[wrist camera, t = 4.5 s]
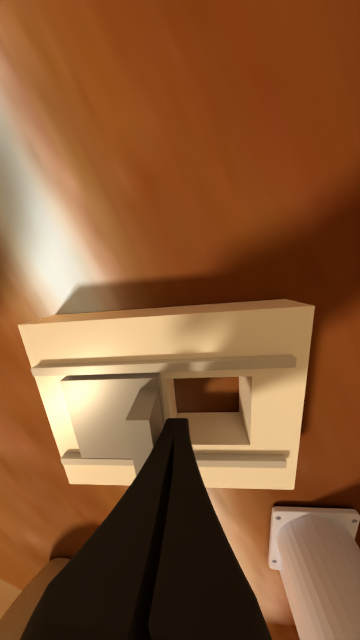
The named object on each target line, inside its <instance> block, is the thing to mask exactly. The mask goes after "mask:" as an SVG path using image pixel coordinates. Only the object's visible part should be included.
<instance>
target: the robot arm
mask: <svg viewBox="0 0 360 640" xmlns="http://www.w3.org/2000/svg"><path fill="white" fill-rule="evenodd" d="M359 521H360V515H359V513H358V512H357V511H356V510H355V509H339V508H311V507H283V506H275V507H273V508H272V516H271V530H270V543H269V557H268V563H269V567H270V568H271V569H275V570H280V574H281V577H282V581H283V584H284V587H285V591H286V594H287V597H288V601H289V604H290V607H291V611H292V614H293V618H294V621H295V624H296V628H297V631H298V634H299V638H300V640H360V548H359V547H358V545H357V543H356V542H355V537H356V533H357V529H358V525H359ZM20 640H272V638H271V636H270V633H269V630H268V628H267V625H266V622H265V620H264V617H263V615H262V612H261V610H260V607H259V604H258V601H257V599H256V596H255V594H254V592H253V590H252V588H251V587H250V585H249V583H248V581H247V579H246V577H245V575H244V573H243V571H242V569H241V567H240V565H239V563H238V561H237V559H236V557H235V555H234V552H233V550H232V548H231V546H230V544H229V542H228V540H227V538H226V535H225V533H224V531H223V529H222V526H221V524H220V522H219V520H218V517H217V515H216V513H215V511H214V508H213V506H212V503H211V501H210V498H209V496H208V493H207V491H206V488H205V485H204V483H203V480H202V477H201V474H200V471H199V468H198V465H197V462H196V458H195V455H194V451H193V447H192V443H191V439H190V433H189V421H188V419H187V418H168V419H167V420H166V422H165V424H164V427H163V429H162V431H161V433H160V435H159V437H158V439H157V441H156V443H155V445H154V447H153V449H152V451H151V453H150V454H149V456H148V458H147V460H146V461H145V463H144V465H143V466H142V468H141V470H140V471H139V473H138V474H137V476H136V477H135V479H134V481H133V482H132V483H131V485H130V486H129V488H128V489H127V491H126V492H125V494H124V495H123V496H122V498H121V499H120V500H119V502H118V503H117V504H116V506H115V507H114V509H113V510H112V511H111V512H110V514H109V515H108V516H107V518H106V519H105V520H104V521H103V522H102V524H101V525H100V526H99V527H98V528H97V530H96V531H95V532H94V533H93V535H92V536H91V537H90V538H89V539H88V541H87V542H86V543H85V544H84V545H83V546H82V548H81V549H80V550H79V551H78V552H77V553H76V554H75V555H74V556H73V557H72V559H71V560H70V561H69V562H68V563H67V564H66V565H65V566H64V567H63V568H62V570H61V571H60V572H59V573H58V574H57V575H56V576H55V577H54V578H53V579H52V580H51V582H50V583H49V584H48V585H47V587H46V589H45V591H44V593H43V595H42V596H41V598H40V600H39V602H38V604H37V606H36V607H35V609H34V611H33V613H32V615H31V617H30V619H29V621H28V623H27V625H26V627H25V629H24V631H23V634H22V636H21V638H20Z"/></svg>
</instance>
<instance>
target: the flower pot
mask: <svg viewBox="0 0 360 640" xmlns="http://www.w3.org/2000/svg"><path fill="white" fill-rule="evenodd" d="M70 560H71V559H68V558H55V559H52V560H51V561H50V562H49V563H48V564H47V565H46V566H45V567H44V568H43V569H42V570H41V571H40V572H39V573H38V574H37V575H36V576H35V577H34V578H33V579H32V580H31V582H30V583H29V584H28V585H27V586H26V587H25V589H24V590H23V591H22V592H21V593H20V595H19V596H18V597H17V598H16V600H15V601H14V602H13V603H12V605H11V606H10V607H9V609H8V610H7V611H6V613H5V614H4V615H3V617H2V618H1V619H0V640H20V638H21V636H22V634H23V631H24V629H25V627H26V625H27V623H28V621H29V619H30V617H31V615H32V613H33V611H34V609H35V607H36V606H37V604H38V602H39V600H40V598H41V596H42V595H43V593H44V591H45V589H46V587H47V585H48V584H49V583H50V582H51V580H52V579H53V578H54V577H55V576H56V575H57V574H58V573H59V572H60V571H61V570H62V568H63V567H64V566H65V565H66V564H67V563H68V562H69V561H70Z"/></svg>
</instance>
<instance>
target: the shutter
mask: <svg viewBox="0 0 360 640" xmlns="http://www.w3.org/2000/svg"><path fill="white" fill-rule="evenodd" d="M60 385H61V388H62V391H63V395H64V398H65V402H66V405H67V409H68V412H69V416H70V419H71V422H72V426H73V429H74V433H75V436H76V440H77V443H78V447H79V450H80V454H81V457H82V458H121V459H133V463H134V468H135V474H136V476H137V474H138V473H139V471H140V470H141V468H142V466H143V465H144V463H145V461H146V460H147V458H148V456H149V454H150V453H151V451H152V449H153V447H154V445H155V443H156V441H157V439H158V437H159V435H160V433H161V431H162V429H163V427H164V424H165V422H166V419H165V411H164V403H163V395H162V387H161V379H160V373H133V374H104V375H75V376H65V377H64V378H63V379H61V380H60Z"/></svg>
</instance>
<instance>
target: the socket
mask: <svg viewBox="0 0 360 640" xmlns="http://www.w3.org/2000/svg"><path fill="white" fill-rule="evenodd" d="M314 309H315V306H314V305H309V304H305V303H301V302H297V301H292V300H288V299H277V300H263V301H248V302H234V303H219V304H205V305H191V306H176V307H162V308H147V309H133V310H118V311H104V312H89V313H75V314H60V315H52V316H49V317H45V318H41V319H38V320H34V321H30V322H27V323H23V324H20V325H18V328H19V331H20V334H21V337H22V340H23V343H24V346H25V349H26V352H27V355H28V358H29V361H30V364H31V367H32V368H31V371H32V374H33V377H35V379H36V382H37V385H38V389H39V392H40V395H41V398H42V401H43V404H44V407H45V410H46V413H47V416H48V419H49V422H50V425H51V428H52V431H53V434H54V437H55V440H56V443H57V446H58V449H59V453H60V456H61V462H62V465H64V468H65V471H66V474H67V477H68V480H69V483H70V484H98V485H131V483H132V482H133V481H134V479H135V477H136V474H135V468H134V463H133V459H121V458H82V457H81V454H80V450H79V447H78V443H77V440H76V436H75V433H74V429H73V426H72V422H71V419H70V416H69V412H68V409H67V405H66V402H65V398H64V395H63V391H62V388H61V385H60V380H61V379H63V378H64V377H65V376H75V375H104V374H133V373H160V379H161V387H162V395H163V403H164V411H165V419H166V420H167V419H168V418H187V419H188V421H189V433H190V439H191V443H192V447H193V451H194V455H195V458H196V462H197V465H198V468H199V471H200V474H201V477H202V480H203V483H204V485H205V487H211V488H249V489H287V490H294V484H295V475H296V467H297V458H298V449H299V440H300V432H301V423H302V414H303V405H304V397H305V388H306V379H307V370H308V362H309V353H310V344H311V336H312V327H313V318H314ZM207 377H239V412H203V413H177V408H176V398H175V388H174V379H175V378H207Z"/></svg>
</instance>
